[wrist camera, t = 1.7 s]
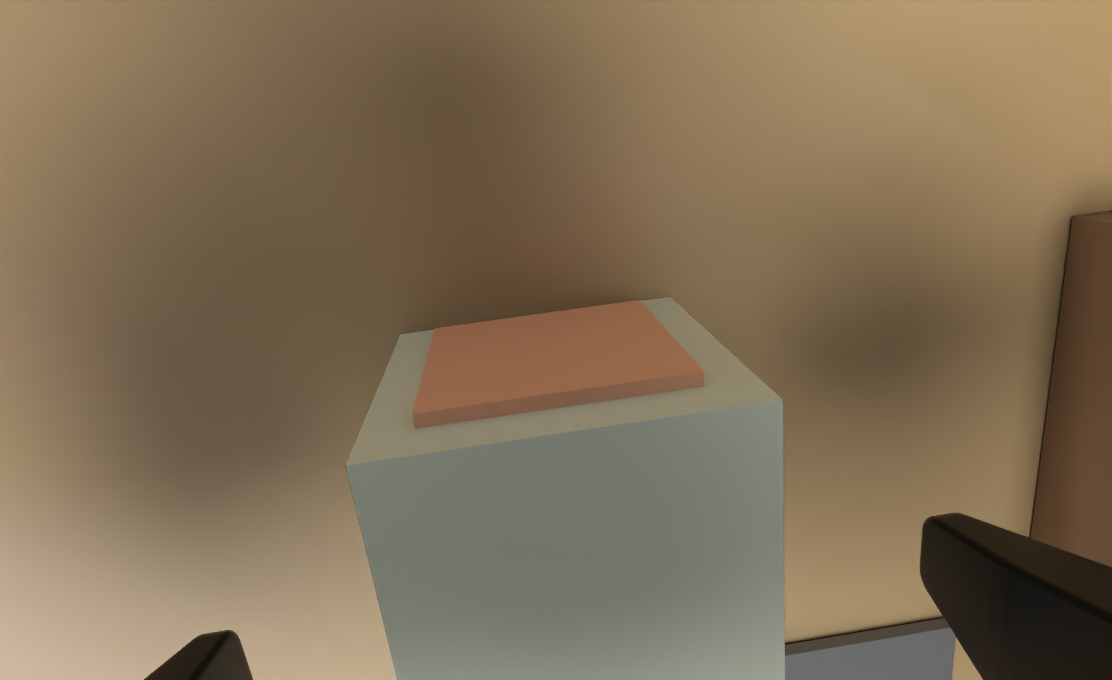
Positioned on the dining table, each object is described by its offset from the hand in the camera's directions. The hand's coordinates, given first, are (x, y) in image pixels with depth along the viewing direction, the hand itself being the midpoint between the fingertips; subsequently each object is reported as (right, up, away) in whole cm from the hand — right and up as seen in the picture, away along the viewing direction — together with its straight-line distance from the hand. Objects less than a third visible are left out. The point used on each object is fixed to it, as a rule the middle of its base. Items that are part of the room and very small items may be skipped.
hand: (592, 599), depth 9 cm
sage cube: (-1, +1, +4) cm, 5 cm away
